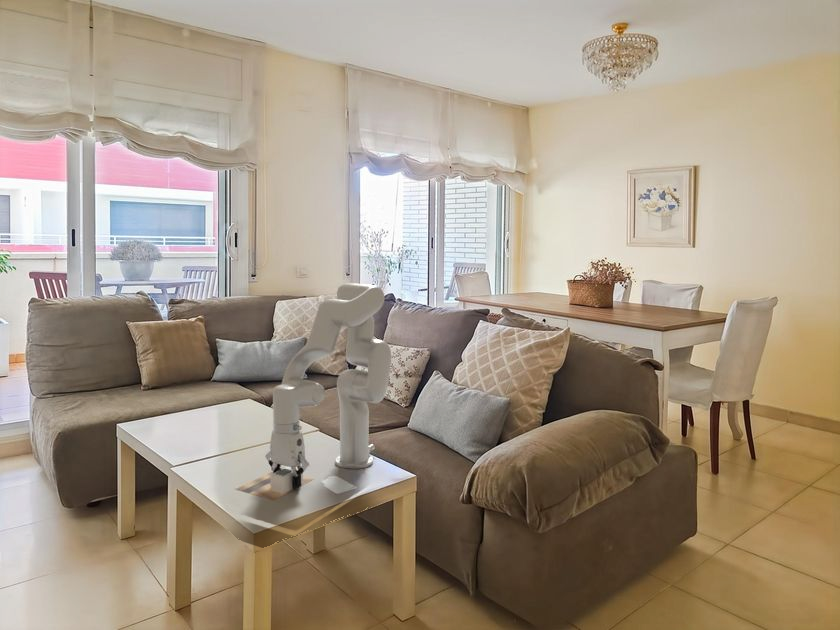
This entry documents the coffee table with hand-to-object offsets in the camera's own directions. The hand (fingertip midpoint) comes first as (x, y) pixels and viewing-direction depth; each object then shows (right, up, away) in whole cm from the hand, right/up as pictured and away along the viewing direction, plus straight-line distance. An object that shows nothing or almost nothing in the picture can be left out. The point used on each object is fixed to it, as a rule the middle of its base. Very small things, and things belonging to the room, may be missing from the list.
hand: (287, 484), depth 183 cm
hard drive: (+14, -2, +3) cm, 15 cm away
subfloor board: (-4, -1, +2) cm, 5 cm away
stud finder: (0, -1, 0) cm, 1 cm away
